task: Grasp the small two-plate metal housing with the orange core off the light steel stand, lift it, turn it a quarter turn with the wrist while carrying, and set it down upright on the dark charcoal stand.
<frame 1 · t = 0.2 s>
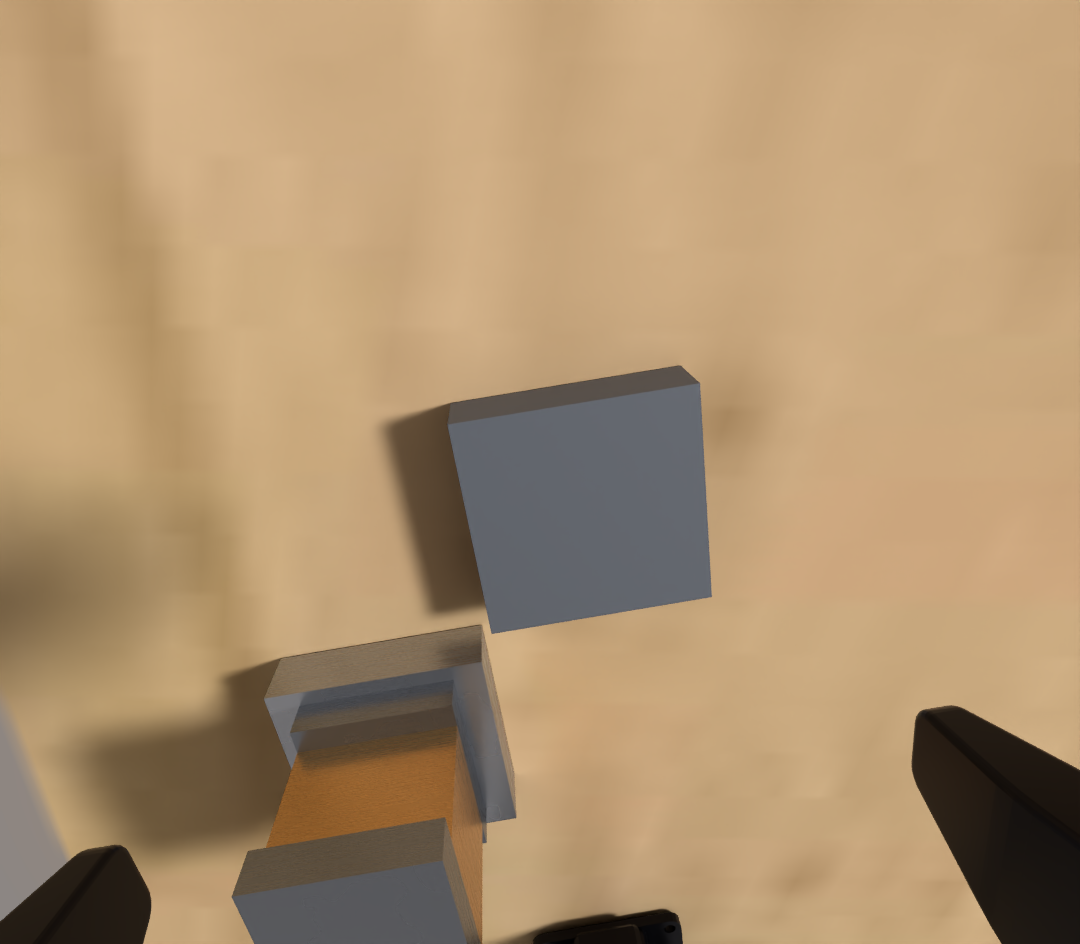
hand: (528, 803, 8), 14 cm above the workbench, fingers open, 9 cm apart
housing: (397, 761, 23), point 2 cm above the workbench, touching stand a
stand a: (404, 719, 25), on the workbench
stand b: (580, 489, 22), on the workbench
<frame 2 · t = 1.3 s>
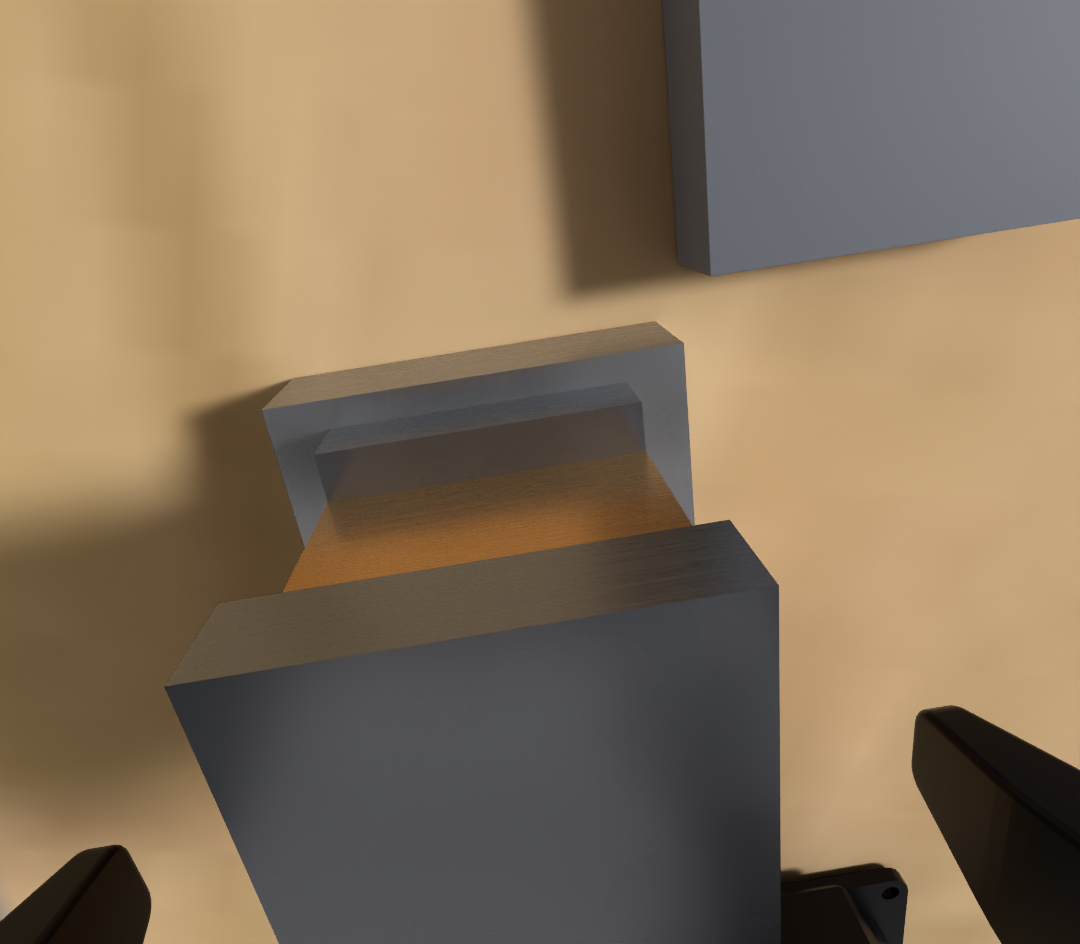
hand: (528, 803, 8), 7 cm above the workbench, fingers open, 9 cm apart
housing: (507, 560, 13), point 2 cm above the workbench, touching stand a
stand a: (504, 512, 14), on the workbench
stand b: (871, 16, 11), on the workbench
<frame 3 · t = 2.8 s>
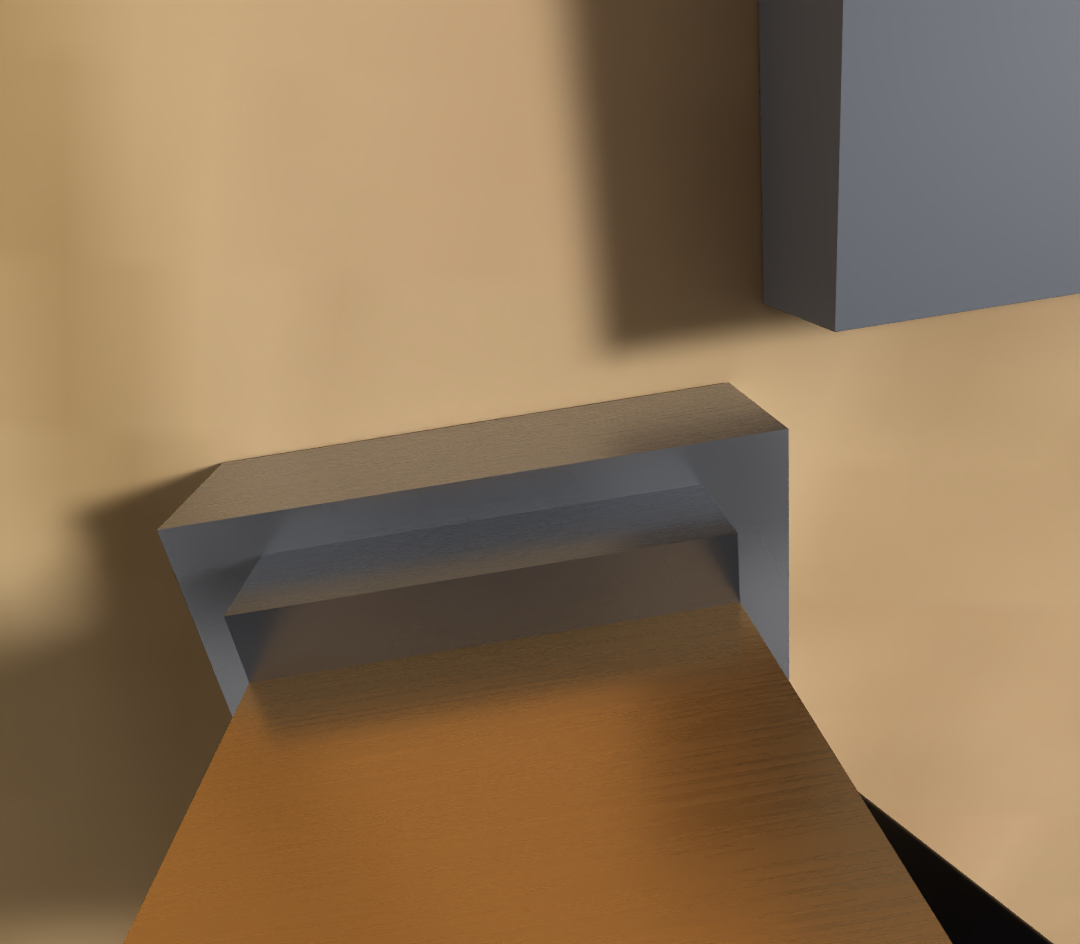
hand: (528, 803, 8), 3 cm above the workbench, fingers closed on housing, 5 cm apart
housing: (522, 725, 9), point 2 cm above the workbench, touching gripper, stand a
stand a: (516, 633, 11), on the workbench
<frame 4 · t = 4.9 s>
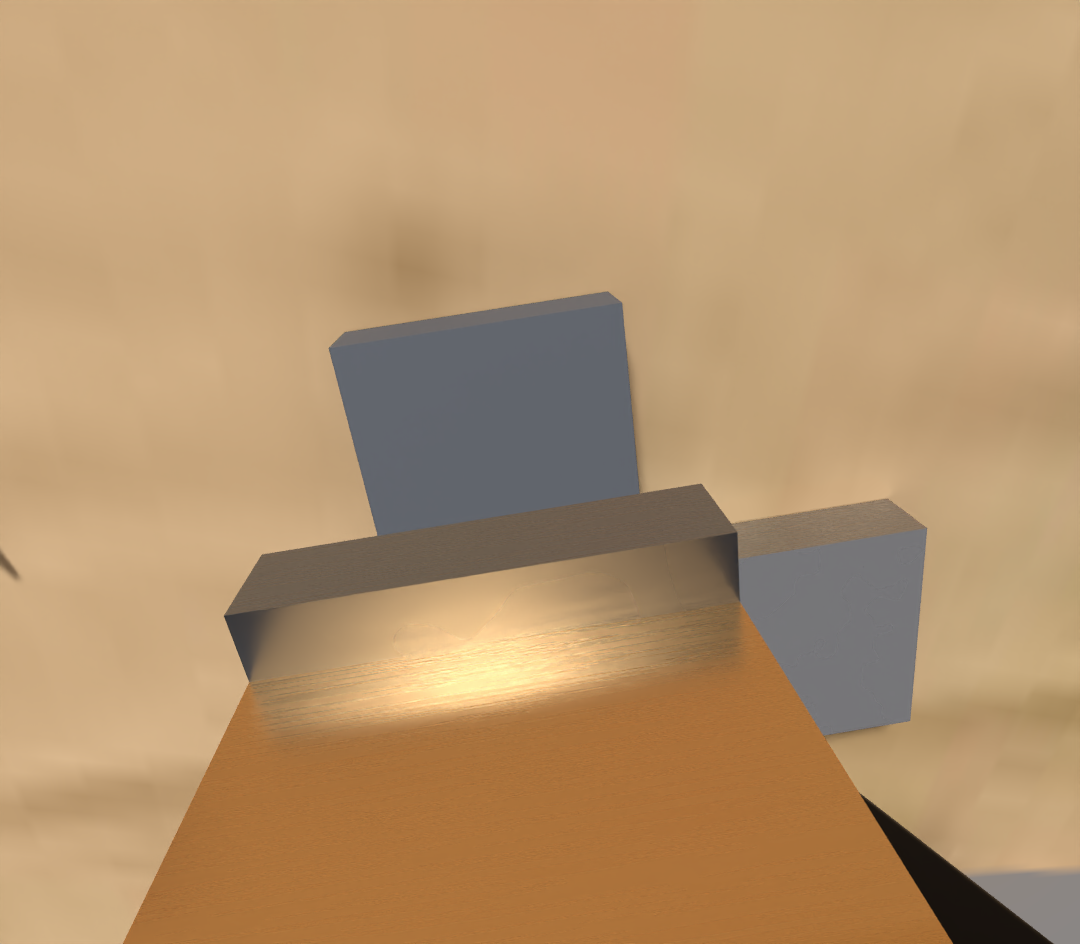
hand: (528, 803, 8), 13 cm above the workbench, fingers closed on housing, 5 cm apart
housing: (522, 724, 9), point 11 cm above the workbench, touching gripper
stand a: (777, 612, 22), on the workbench
stand b: (498, 436, 19), on the workbench
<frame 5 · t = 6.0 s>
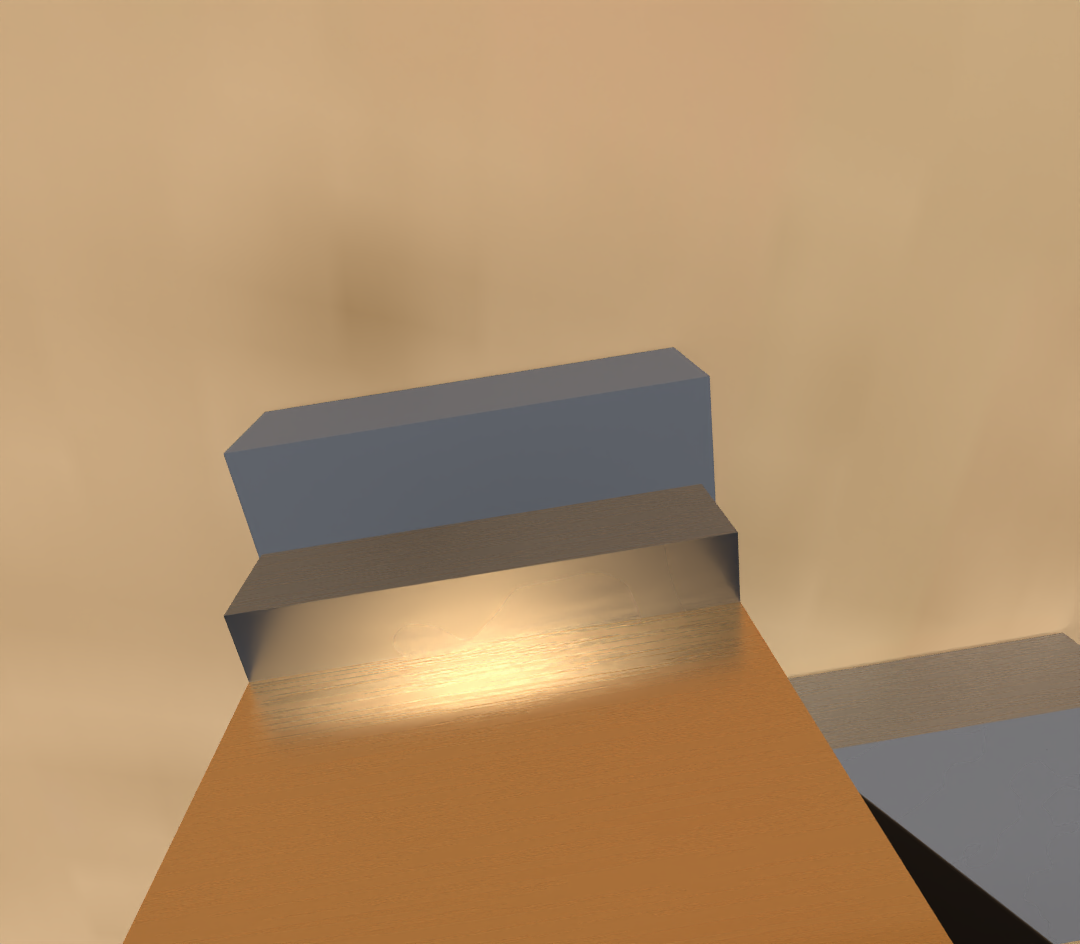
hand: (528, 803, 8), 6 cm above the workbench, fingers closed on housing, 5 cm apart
housing: (522, 724, 9), point 4 cm above the workbench, touching gripper
stand a: (894, 780, 16), on the workbench
stand b: (503, 558, 13), on the workbench
when the fingers open (4 cm above the workbench, at t = 7.1 s): housing drops 1 cm, resting on stand b.
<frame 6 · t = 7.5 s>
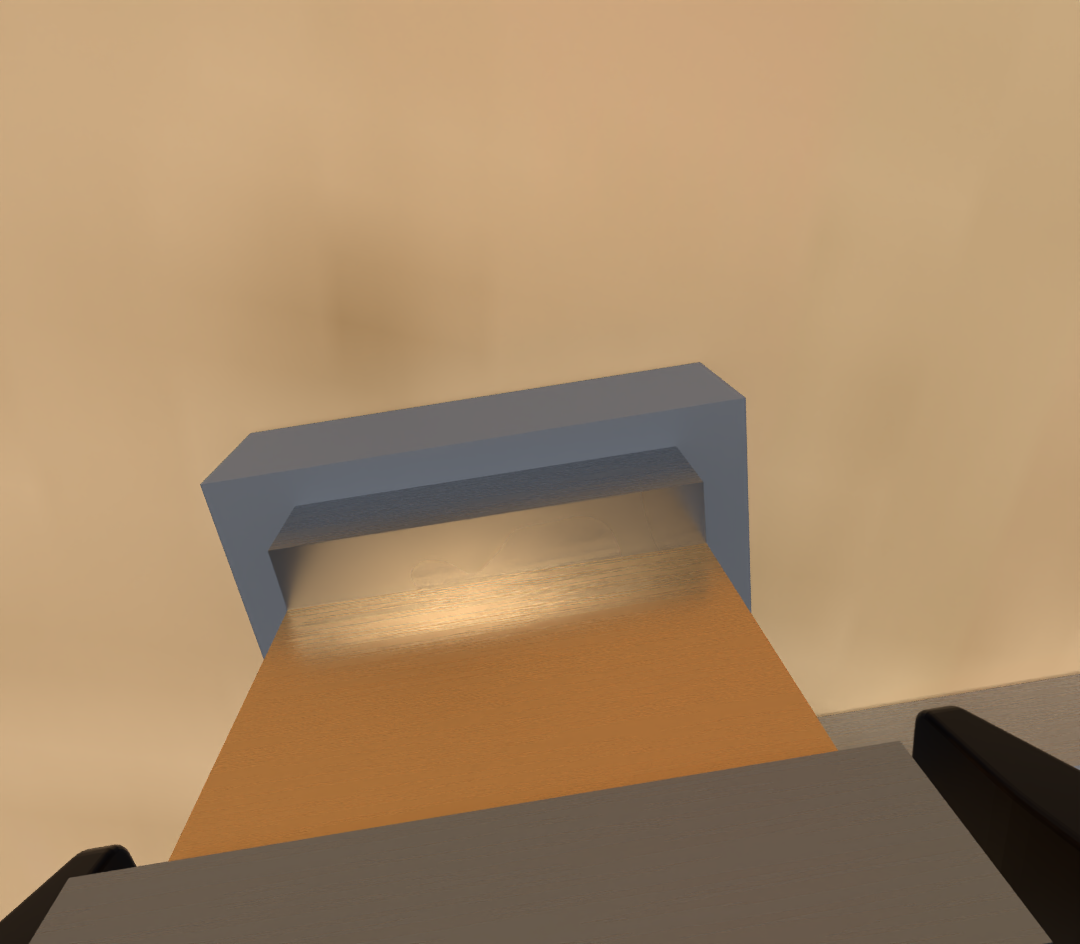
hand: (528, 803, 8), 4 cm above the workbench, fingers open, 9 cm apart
housing: (520, 662, 10), point 2 cm above the workbench, touching stand b
stand a: (929, 823, 15), on the workbench
stand b: (511, 590, 12), on the workbench
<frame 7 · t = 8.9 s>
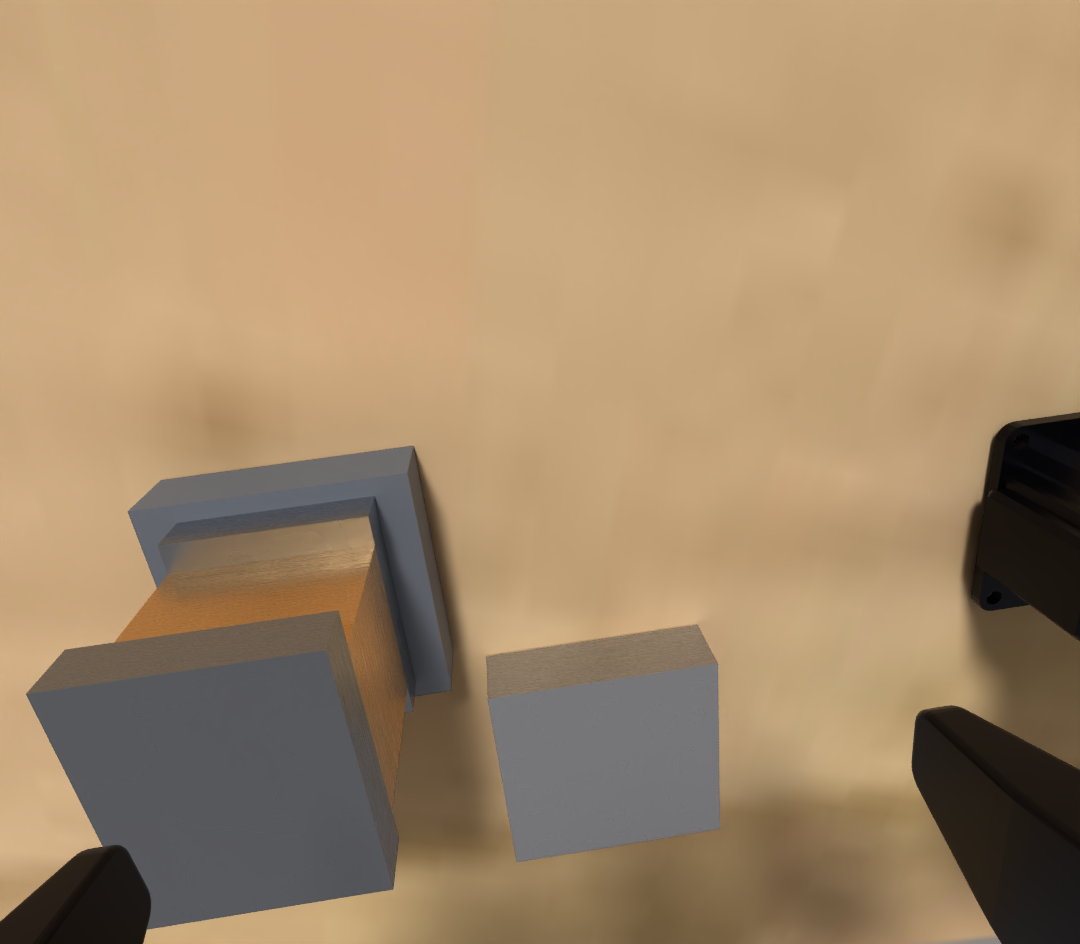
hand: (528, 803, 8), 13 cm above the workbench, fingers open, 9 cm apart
housing: (304, 608, 19), point 2 cm above the workbench, touching stand b
stand a: (600, 723, 24), on the workbench
stand b: (317, 570, 20), on the workbench
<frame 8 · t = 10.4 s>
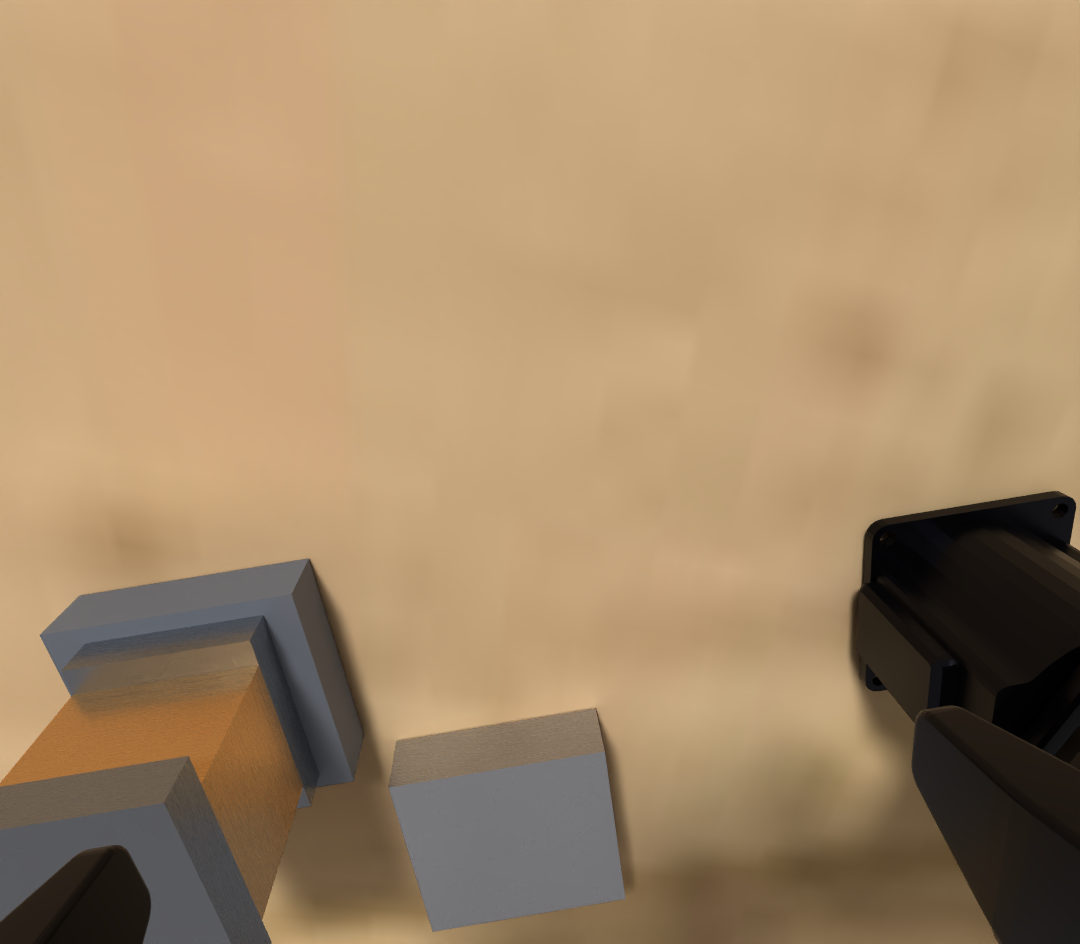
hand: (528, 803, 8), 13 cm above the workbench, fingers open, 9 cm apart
housing: (209, 712, 20), point 2 cm above the workbench, touching stand b
stand a: (512, 798, 25), on the workbench
stand b: (230, 669, 22), on the workbench
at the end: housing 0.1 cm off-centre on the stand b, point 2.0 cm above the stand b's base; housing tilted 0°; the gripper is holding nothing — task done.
